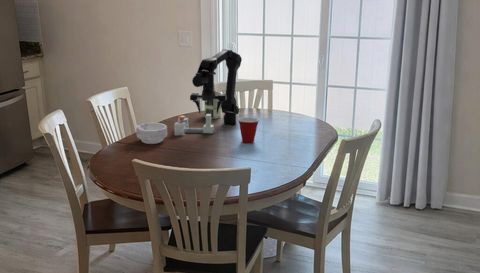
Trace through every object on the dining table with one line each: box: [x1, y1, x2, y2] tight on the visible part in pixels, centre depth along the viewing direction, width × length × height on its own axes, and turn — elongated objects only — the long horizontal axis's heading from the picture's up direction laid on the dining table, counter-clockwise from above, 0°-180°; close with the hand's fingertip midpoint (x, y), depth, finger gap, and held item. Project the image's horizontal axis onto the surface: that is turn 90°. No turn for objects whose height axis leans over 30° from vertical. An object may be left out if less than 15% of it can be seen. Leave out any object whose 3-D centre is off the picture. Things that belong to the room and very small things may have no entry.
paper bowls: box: [135, 122, 168, 145], centre depth 246 cm, size 15×15×8 cm
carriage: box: [202, 114, 215, 134], centre depth 262 cm, size 5×5×9 cm
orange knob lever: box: [177, 115, 186, 122], centre depth 262 cm, size 4×4×5 cm
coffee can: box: [203, 91, 222, 120], centre depth 295 cm, size 10×10×14 cm
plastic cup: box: [237, 117, 260, 144], centre depth 247 cm, size 11×11×12 cm
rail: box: [186, 127, 215, 134], centre depth 263 cm, size 14×3×2 cm, turn 86°
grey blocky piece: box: [174, 117, 190, 136], centre depth 263 cm, size 5×14×6 cm, turn 176°
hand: (208, 113), depth 260 cm, fingers open, 9 cm apart
